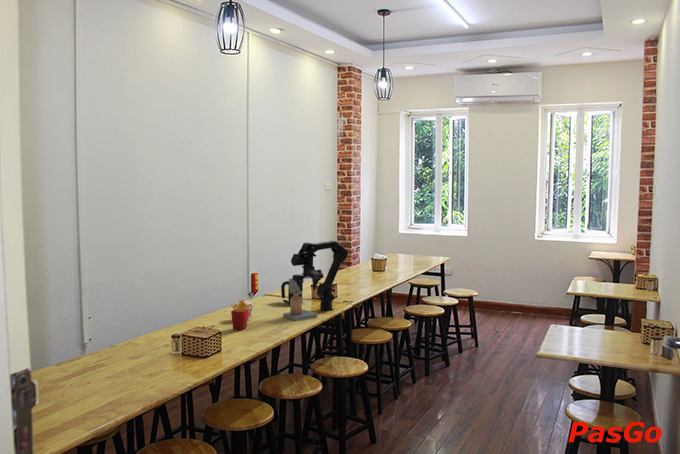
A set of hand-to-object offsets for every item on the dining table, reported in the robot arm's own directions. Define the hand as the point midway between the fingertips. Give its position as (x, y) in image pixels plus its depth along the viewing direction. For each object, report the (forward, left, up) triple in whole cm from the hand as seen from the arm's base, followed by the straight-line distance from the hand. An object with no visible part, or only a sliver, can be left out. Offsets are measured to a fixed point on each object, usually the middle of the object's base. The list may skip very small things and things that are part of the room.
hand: (307, 291), depth 318 cm
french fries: (+48, +8, -13) cm, 50 cm away
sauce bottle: (+12, +5, -11) cm, 17 cm away
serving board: (+9, +5, -13) cm, 17 cm away
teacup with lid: (+36, -10, -13) cm, 40 cm away
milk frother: (-8, -26, -13) cm, 30 cm away
